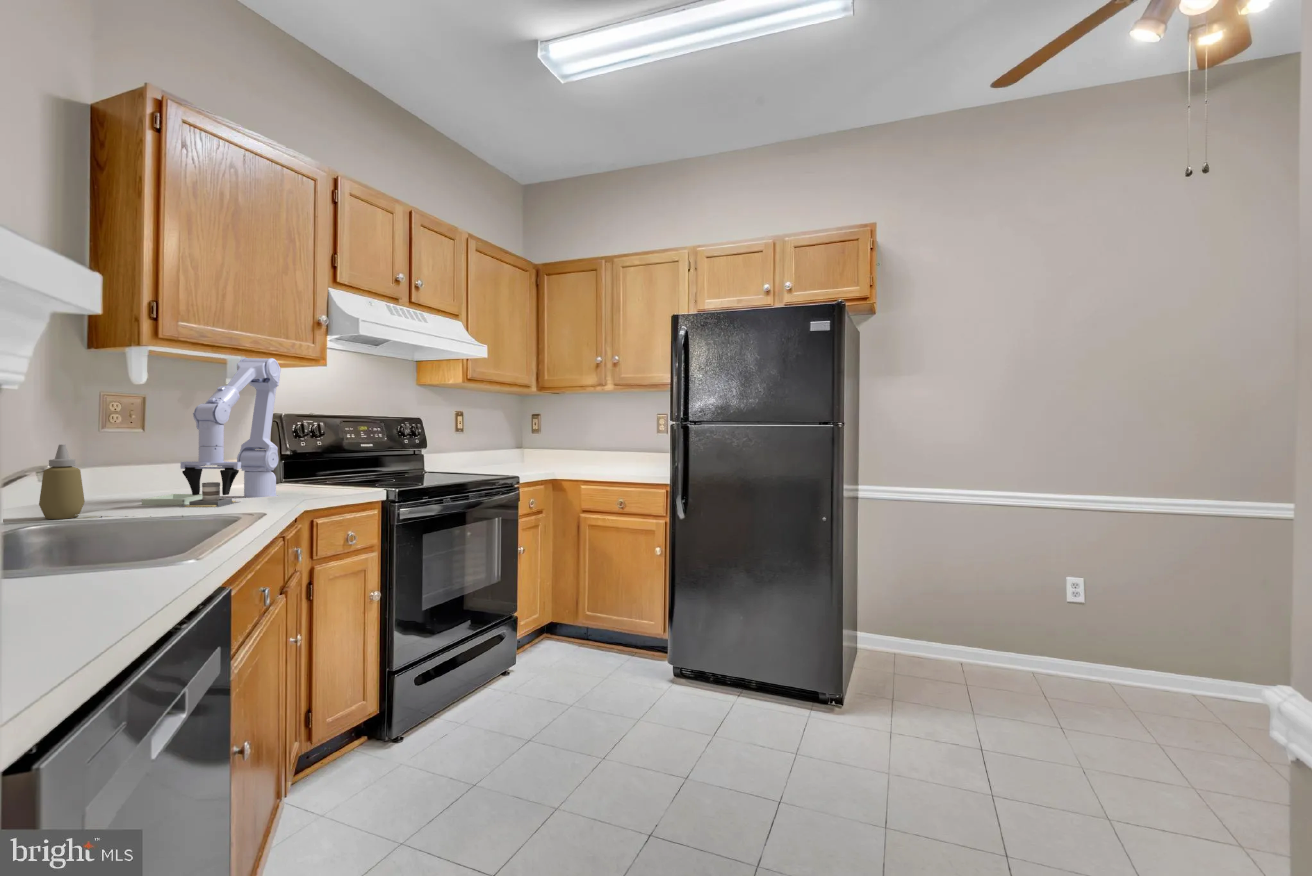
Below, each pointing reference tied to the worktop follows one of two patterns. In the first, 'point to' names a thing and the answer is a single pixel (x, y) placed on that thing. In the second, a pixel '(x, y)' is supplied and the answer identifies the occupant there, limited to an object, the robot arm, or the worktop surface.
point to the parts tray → (171, 499)
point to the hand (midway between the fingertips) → (210, 494)
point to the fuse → (211, 491)
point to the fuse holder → (211, 503)
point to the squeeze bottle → (61, 488)
